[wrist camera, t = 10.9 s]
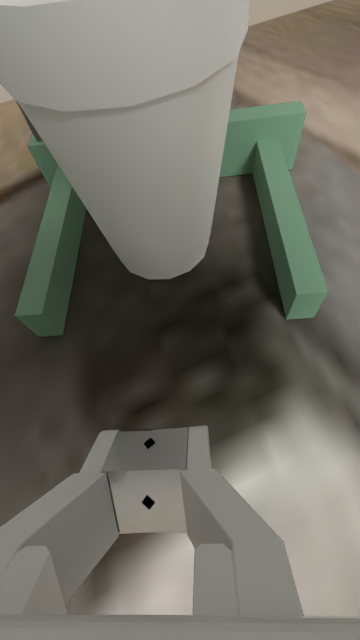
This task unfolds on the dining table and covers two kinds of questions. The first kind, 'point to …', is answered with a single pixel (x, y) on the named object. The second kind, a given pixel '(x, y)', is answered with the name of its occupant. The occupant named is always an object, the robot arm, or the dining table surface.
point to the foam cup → (131, 112)
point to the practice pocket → (238, 159)
